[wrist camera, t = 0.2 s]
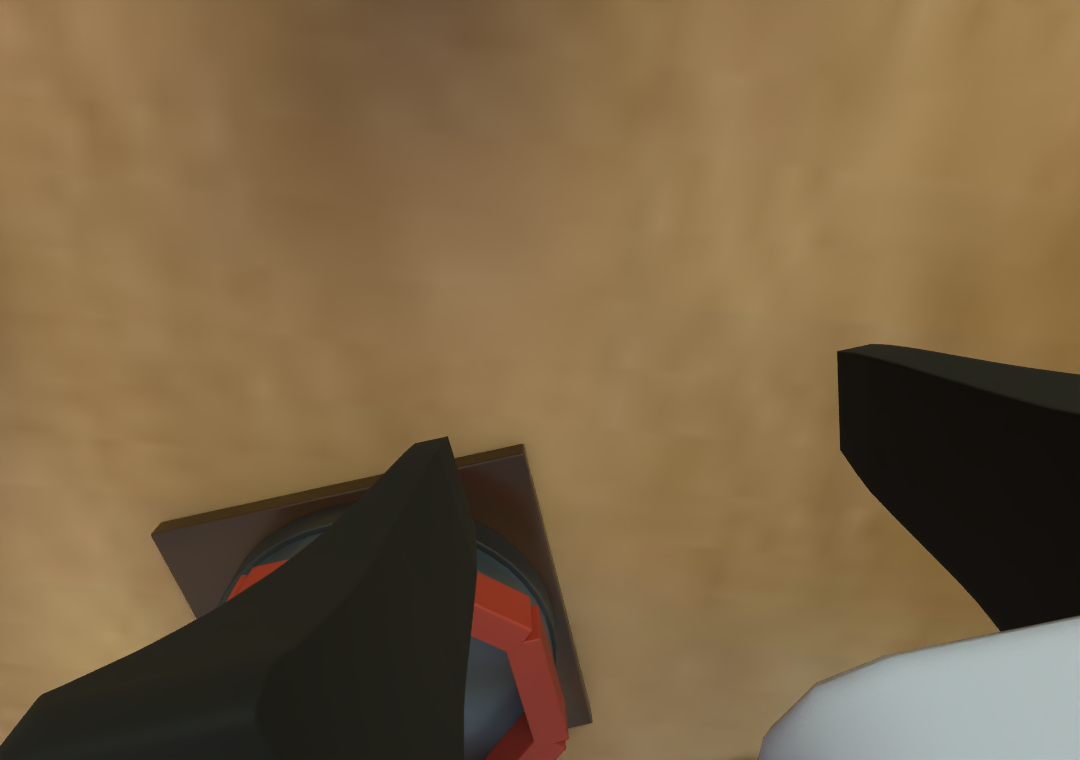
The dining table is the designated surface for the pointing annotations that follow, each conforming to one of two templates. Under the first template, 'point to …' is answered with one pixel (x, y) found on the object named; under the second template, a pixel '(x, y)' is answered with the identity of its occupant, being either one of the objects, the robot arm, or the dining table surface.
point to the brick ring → (522, 636)
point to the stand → (502, 554)
